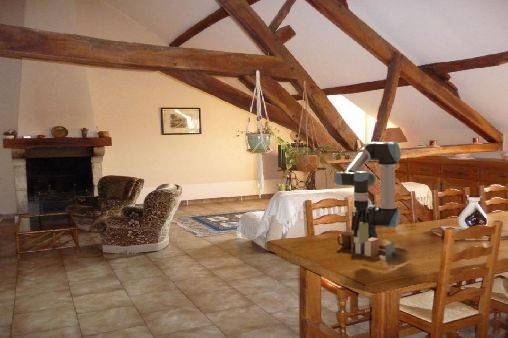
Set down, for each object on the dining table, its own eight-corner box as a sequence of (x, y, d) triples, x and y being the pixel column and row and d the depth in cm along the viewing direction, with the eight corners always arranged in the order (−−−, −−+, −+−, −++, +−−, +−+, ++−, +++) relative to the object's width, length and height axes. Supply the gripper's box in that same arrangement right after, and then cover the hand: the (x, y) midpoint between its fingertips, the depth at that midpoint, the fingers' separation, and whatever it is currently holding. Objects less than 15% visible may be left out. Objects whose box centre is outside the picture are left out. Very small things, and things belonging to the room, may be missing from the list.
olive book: (353, 242, 249) (353, 224, 248) (361, 239, 255) (362, 221, 254) (359, 243, 246) (360, 225, 245) (368, 240, 252) (368, 222, 251)
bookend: (385, 259, 251) (385, 245, 250) (392, 256, 256) (393, 242, 256) (391, 261, 248) (391, 246, 248) (398, 258, 254) (398, 243, 253)
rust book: (364, 255, 260) (364, 239, 260) (372, 252, 266) (372, 237, 265) (371, 256, 257) (371, 241, 256) (378, 254, 263) (379, 238, 262)
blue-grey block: (354, 253, 265) (355, 236, 264) (362, 250, 270) (362, 233, 270) (360, 254, 262) (361, 237, 261) (368, 251, 267) (368, 235, 267)
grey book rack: (350, 255, 266) (351, 233, 265) (361, 251, 273) (361, 230, 272) (390, 264, 248) (390, 240, 247) (400, 260, 255) (400, 237, 254)
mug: (348, 247, 284) (348, 231, 283) (358, 250, 276) (358, 233, 275) (333, 249, 279) (333, 233, 278) (342, 253, 271) (342, 236, 270)
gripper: (356, 203, 238) (355, 246, 241) (377, 198, 253) (377, 238, 255) (343, 201, 244) (343, 243, 246) (365, 196, 258) (365, 236, 260)
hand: (360, 240), depth 251 cm, fingers closed on olive book, 8 cm apart
